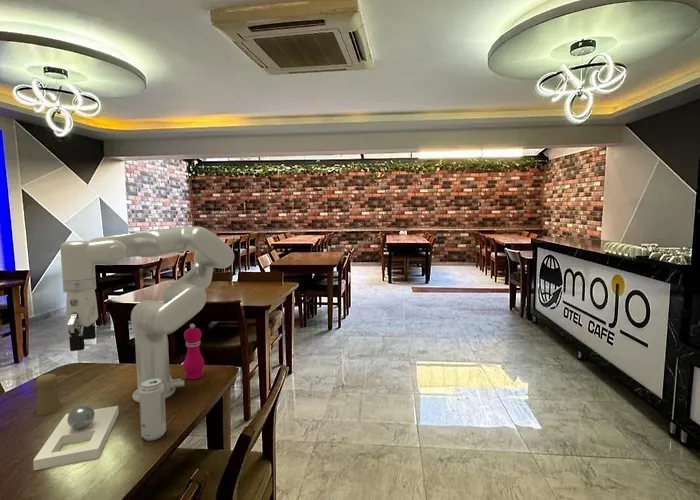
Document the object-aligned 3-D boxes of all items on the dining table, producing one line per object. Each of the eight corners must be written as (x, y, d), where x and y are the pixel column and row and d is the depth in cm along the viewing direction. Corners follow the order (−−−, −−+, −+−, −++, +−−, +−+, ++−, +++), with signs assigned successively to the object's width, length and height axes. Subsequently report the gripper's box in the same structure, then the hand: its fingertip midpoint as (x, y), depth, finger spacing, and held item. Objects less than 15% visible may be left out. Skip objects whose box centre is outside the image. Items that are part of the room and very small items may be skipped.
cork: (47, 416, 112) (44, 380, 111) (30, 413, 113) (27, 378, 112) (66, 406, 118) (63, 372, 117) (50, 404, 119) (47, 370, 118)
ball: (98, 419, 106) (96, 399, 105) (91, 431, 100) (90, 410, 99) (72, 424, 103) (70, 403, 103) (64, 436, 98) (62, 414, 97)
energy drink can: (142, 432, 104) (139, 379, 103) (166, 426, 107) (164, 375, 105) (140, 444, 99) (137, 389, 97) (166, 438, 101) (163, 384, 100)
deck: (118, 413, 113) (118, 405, 113) (98, 458, 93) (98, 448, 93) (66, 422, 109) (66, 413, 109) (33, 470, 88) (33, 460, 88)
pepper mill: (191, 382, 134) (189, 327, 132) (179, 377, 138) (177, 324, 136) (209, 375, 140) (207, 322, 138) (196, 371, 144) (194, 319, 142)
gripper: (84, 290, 99) (88, 353, 100) (104, 279, 115) (107, 333, 117) (50, 292, 96) (55, 356, 98) (75, 280, 113) (79, 336, 114)
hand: (83, 344), depth 107 cm, fingers open, 9 cm apart
